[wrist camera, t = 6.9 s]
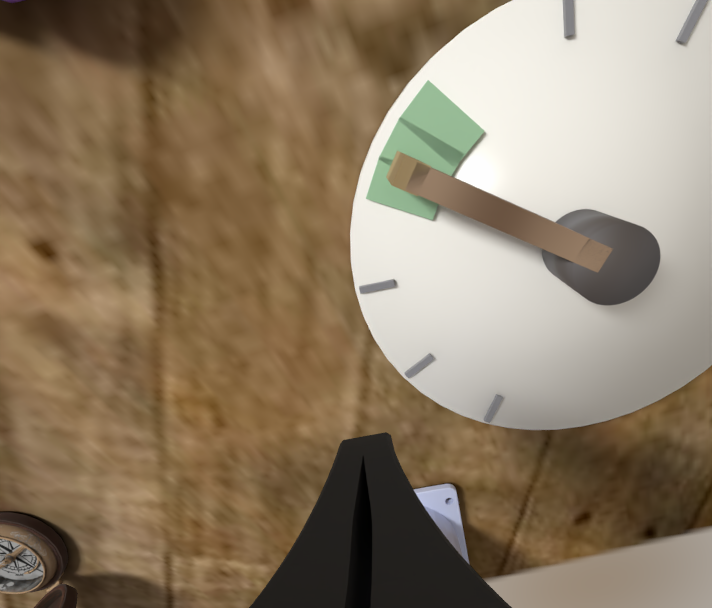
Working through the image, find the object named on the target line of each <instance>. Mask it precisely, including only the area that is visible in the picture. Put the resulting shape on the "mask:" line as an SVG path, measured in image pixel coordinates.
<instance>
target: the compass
mask: <svg viewBox="0 0 712 608" xmlns="http://www.w3.org/2000/svg"><path fill="white" fill-rule="evenodd" d="M67 562H68V553H67V548H66V546H65V544H64V543H63V541H62V539H61V537H60V536H59V535H58V534H57V533H56V532H55V531H54V530H53V529H52V528H51V527H49V526H48V525H46V524H45V523H43V522H42V521H40V520H38V519H35V518H33V517H30V516H28V515H23V514H18V513H13V512H0V592H1V593H7V594H21V593H28V592H35V591H39V590H43V589H46V588H48V587H50V586H51V587H50V588H49V589H47V594H46V595H45V596H44V597H43V598H42V599H41V600H40V601H39V603H38V604H37V605H36V606H35V607H34V608H76V604H77V595H78V593H77V591H76V589H75V588H73V587H71V586H69V585H66V584H62V580H60V577H61V576H62V575H63V573H64V570H65V569H66V566H67Z"/></svg>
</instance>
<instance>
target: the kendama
mask: <svg viewBox="0 0 712 608" xmlns="http://www.w3.org/2000/svg"><path fill="white" fill-rule="evenodd" d="M2 1H6V2H10V3H15V2H20V1H24V0H2Z"/></svg>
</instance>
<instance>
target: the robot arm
mask: <svg viewBox="0 0 712 608" xmlns="http://www.w3.org/2000/svg"><path fill="white" fill-rule="evenodd" d="M448 498H451V499H449V500H446V499H448ZM249 608H512V607H511V606H509V605H508V604H507V603H506V602H505V601H504V600H503V599H502V598H501V597H500V596H499V595H498V594H497V593H496V592H495V591H494V590H493V589H492V588H491V587H490V586H489V585H488V584H487V583H486V582H485V581H484V580H483V579H482V578H481V577H480V576H479V575H478V573H477V572H476V571H475V570H474V569H473V568H472V567H471V566H470V565H469V559H468V554H467V548H466V542H465V537H464V531H463V525H462V519H461V514H460V508H459V502H458V497H457V492H456V488H455V486H453V485H452V484H442V485H436V486H430V487H425V488H419V489H413V488H412V486H411V484H410V483H409V481H408V479H407V477H406V475H405V474H404V472H403V470H402V468H401V465H400V463H399V461H398V459H397V456H396V454H395V451H394V447H393V443H392V439H391V435H389V434H388V433H380V434H375V435H369V436H364V437H358V438H353V439H348V440H343V441H342V442H341V444H340V446H339V449H338V452H337V455H336V458H335V461H334V463H333V466H332V469H331V471H330V473H329V476H328V478H327V481H326V483H325V485H324V487H323V490H322V492H321V494H320V496H319V498H318V501H317V503H316V505H315V507H314V509H313V510H312V512H311V514H310V516H309V518H308V520H307V522H306V524H305V526H304V528H303V530H302V531H301V533H300V535H299V537H298V538H297V540H296V542H295V543H294V545H293V547H292V548H291V550H290V551H289V553H288V555H287V556H286V558H285V559H284V561H283V562H282V564H281V565H280V567H279V568H278V570H277V571H276V573H275V574H274V575H273V577H272V578H271V580H270V581H269V583H268V584H267V585H266V587H265V588H264V589H263V591H262V592H261V593H260V595H259V596H258V597H257V599H256V600H255V601H254V603H253V604H252V605H251V606H250V607H249Z"/></svg>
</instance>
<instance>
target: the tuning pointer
mask: <svg viewBox="0 0 712 608" xmlns="http://www.w3.org/2000/svg"><path fill="white" fill-rule="evenodd" d="M386 178H387V179H388V181H389V182H390V184H391V185H392V186H394V187H396V188H399V189H401V190H403V191H406V192H408V193H410V194H413V195H415V196H418V195H419V196H421V197H423V198H426V199H428V200H430V201H433V202H435V203H437V204H440V205H442V206H444V207H447V208H449V209H451V210H453V211H456V212H458V213H460V214H463V215H465V216H467V217H470V218H472V219H474V220H477V221H479V222H481V223H484V224H486V225H488V226H491V227H493V228H495V229H497V230H500V231H502V232H504V233H507V234H509V235H511V236H514V237H516V238H518V239H521V240H523V241H525V242H528V243H530V244H532V245H535V246H537V247H539V248H542V257H543V261H544V264H545V266H546V267H547V269H548V270H549V271H550V272H551V273H552V274H553V275H554V276H556V277H557V278H559V279H560V280H561V281H563V282H564V283H565V284H567V285H568V286H569V287H571V288H572V289H573V290H575V291H576V292H577V293H579V294H580V295H581V296H583V297H584V298H586V299H587V300H588V301H590V302H592V303H595V304H599V305H617V304H621V303H624V302H627V301H629V300H631V299H633V298H635V297H636V296H638V295H639V294H640V293H642V292H643V291H644V290H645V289H646V288H647V287H648V286H649V284H650V283H651V282H652V280H653V279H654V277H655V275H656V273H657V271H658V268H659V264H660V248H659V244H658V242H657V240H656V238H655V237H654V235H653V234H652V233H651V232H650V231H648V230H647V229H646V228H644V227H642V226H639V225H636V224H633V223H631V222H628V221H625V220H622V219H619V218H616V217H613V216H610V215H608V214H605V213H602V212H599V211H596V210H592V209H580V210H575V211H572V212H570V213H568V214H566V215H564V216H562V217H561V218H560V219H558V220H557V221H556V222H554V221H551V220H549V219H547V218H545V217H542V216H540V215H538V214H536V213H533V212H531V211H529V210H527V209H524V208H522V207H520V206H518V205H515V204H513V203H511V202H509V201H506V200H504V199H502V198H500V197H497V196H495V195H493V194H491V193H488V192H486V191H484V190H482V189H479V188H477V187H475V186H473V185H470V184H468V183H466V182H464V181H461V180H459V179H457V178H455V177H452V176H450V175H448V174H446V173H443V172H441V171H439V170H437V169H434V168H432V167H431V166H429V165H427V164H425V163H423V162H422V161H420V160H417V159H415V158H413V157H411V156H408V155H406V154H404V153H402V152H399V151H397V152H396V154H395V157H394V159H393V162H392V164H391V166H390V169H389V171H388V173H387V176H386Z"/></svg>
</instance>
